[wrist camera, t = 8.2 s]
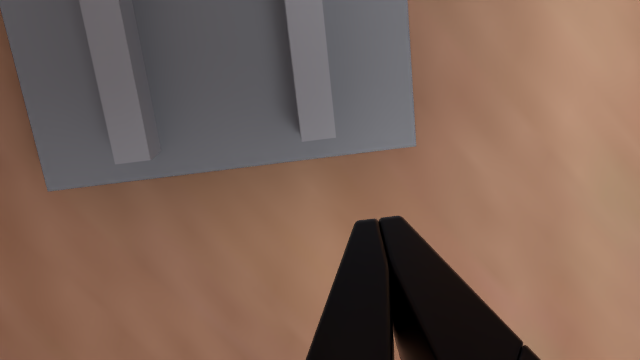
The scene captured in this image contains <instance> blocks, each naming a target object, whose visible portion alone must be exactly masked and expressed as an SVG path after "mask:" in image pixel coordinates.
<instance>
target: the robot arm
mask: <svg viewBox="0 0 640 360" xmlns="http://www.w3.org/2000/svg"><path fill="white" fill-rule="evenodd" d="M393 332H394V337H395V341H396V345H397V348H398V352H399V355H400V359H401V360H540V359H539V358H538V357H537V356H536V355H535V354H534V353H533V351H532V350H531V349H530V348H529V347H528V346H526V345H524V346H523V342H522V340H521V339H520V338H519V337H518V336H517V335H516V334H515V333H514V332H513V331H512V330H511V329H510V328H509V327H508V326H507V325H506V324H505V323H504V322H503V321H502V320H501V319H500V318H499V317H498V316H497V314H496V313H495V312H494V311H493V310H492V309H491V308H490V307H489V306H488V305H487V304H486V303H485V302H484V301H483V300H482V299H481V298H480V297H479V296H478V295H477V294H476V293H475V292H474V291H473V290H472V289H471V288H470V287H469V286H468V284H467V283H466V282H465V281H464V280H463V279H462V278H461V277H460V276H459V275H458V274H457V273H456V272H455V271H454V270H453V269H452V268H451V267H450V266H449V265H448V264H447V263H446V262H445V261H444V260H443V259H442V258H441V257H440V256H439V255H438V253H437V252H436V251H435V250H434V249H433V248H432V247H431V246H430V245H429V244H428V243H427V242H426V241H425V240H424V239H423V238H422V237H421V236H420V235H419V234H418V233H417V232H416V231H415V230H414V229H413V228H412V227H411V226H410V225H409V224H408V222H407V221H406V220H405V219H404V218H403V217H401V216H392V217H384V218H381V219H380V220H379V222H378V220H377V219H367V220H359V221H357V222H356V223H355V224H354V227H353V229H352V232H351V235H350V238H349V241H348V243H347V246H346V249H345V252H344V254H343V257H342V260H341V263H340V266H339V268H338V271H337V274H336V277H335V279H334V282H333V285H332V288H331V291H330V293H329V296H328V299H327V302H326V305H325V307H324V310H323V313H322V316H321V318H320V321H319V324H318V327H317V330H316V332H315V335H314V338H313V341H312V343H311V346H310V349H309V352H308V355H307V357H306V360H394V340H393Z"/></svg>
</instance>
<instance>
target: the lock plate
mask: <svg viewBox="0 0 640 360" xmlns="http://www.w3.org/2000/svg"><path fill="white" fill-rule="evenodd" d="M0 9H1V13H2V17H3V20H4V24H5V28H6V32H7V36H8V40H9V44H10V47H11V51H12V55H13V59H14V63H15V67H16V71H17V74H18V78H19V82H20V86H21V90H22V94H23V98H24V101H25V105H26V109H27V113H28V117H29V121H30V125H31V129H32V132H33V136H34V140H35V144H36V148H37V152H38V156H39V159H40V163H41V167H42V171H43V175H44V179H45V183H46V186H47V190H48V191H56V190H64V189H72V188H80V187H89V186H97V185H105V184H113V183H121V182H129V181H137V180H145V179H154V178H162V177H170V176H178V175H186V174H194V173H202V172H210V171H219V170H227V169H235V168H243V167H251V166H259V165H267V164H275V163H284V162H292V161H300V160H308V159H316V158H324V157H332V156H340V155H348V154H357V153H365V152H373V151H381V150H389V149H397V148H405V147H413V146H416V134H415V118H414V101H413V85H412V68H411V51H410V35H409V18H408V2H407V0H0Z"/></svg>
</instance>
